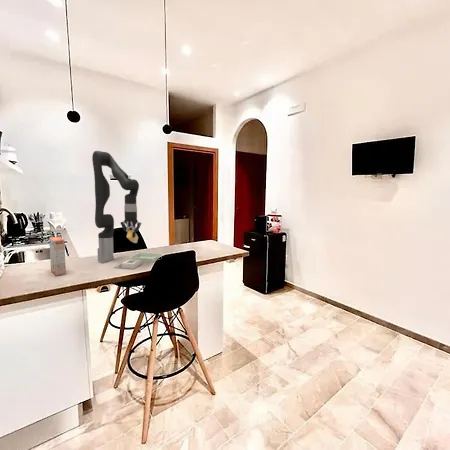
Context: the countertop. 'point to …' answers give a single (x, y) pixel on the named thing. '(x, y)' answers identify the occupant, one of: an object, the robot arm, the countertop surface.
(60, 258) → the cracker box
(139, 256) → the parts tray
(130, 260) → the block
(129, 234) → the fuse
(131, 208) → the robot arm
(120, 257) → the countertop surface
